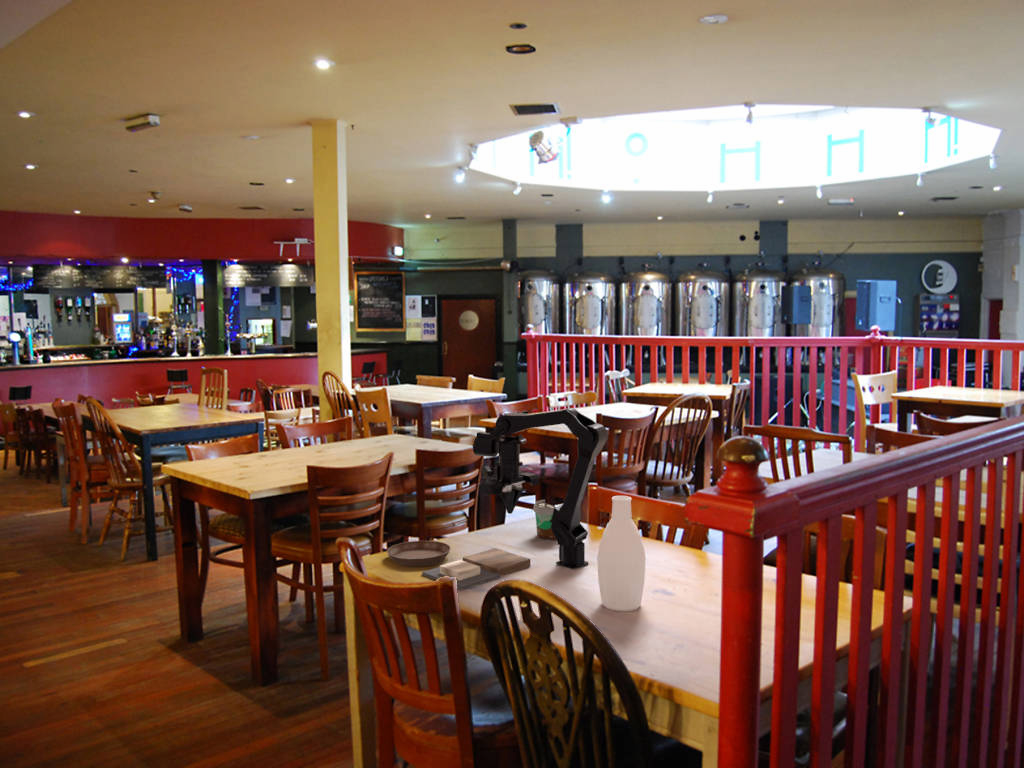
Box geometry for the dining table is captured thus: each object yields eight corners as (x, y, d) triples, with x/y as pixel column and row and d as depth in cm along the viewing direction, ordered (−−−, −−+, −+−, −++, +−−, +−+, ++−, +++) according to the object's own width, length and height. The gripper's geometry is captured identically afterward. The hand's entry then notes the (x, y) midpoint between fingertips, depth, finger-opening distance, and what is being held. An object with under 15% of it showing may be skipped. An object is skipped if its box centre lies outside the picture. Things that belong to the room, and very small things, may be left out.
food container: (526, 533, 246) (526, 501, 245) (544, 530, 249) (543, 499, 248) (544, 543, 235) (544, 510, 234) (563, 540, 238) (562, 507, 237)
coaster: (480, 574, 205) (480, 566, 205) (459, 580, 200) (459, 572, 200) (460, 567, 211) (460, 559, 211) (439, 573, 206) (439, 565, 206)
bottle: (613, 592, 193) (613, 490, 191) (654, 603, 186) (655, 496, 184) (588, 606, 184) (587, 498, 182) (629, 617, 177) (630, 505, 175)
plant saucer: (378, 555, 225) (378, 545, 225) (436, 546, 234) (436, 536, 233) (399, 573, 210) (399, 562, 210) (460, 563, 218) (460, 552, 218)
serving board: (530, 566, 214) (530, 558, 214) (497, 576, 206) (497, 569, 205) (495, 555, 224) (495, 548, 224) (462, 564, 216) (462, 557, 216)
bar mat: (500, 577, 205) (500, 574, 205) (461, 589, 196) (461, 586, 196) (460, 563, 216) (460, 560, 216) (422, 574, 208) (422, 571, 207)
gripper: (513, 450, 234) (513, 502, 235) (465, 459, 221) (465, 514, 222) (540, 455, 226) (540, 509, 227) (492, 464, 213) (492, 521, 214)
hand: (509, 513), depth 223 cm, fingers closed
